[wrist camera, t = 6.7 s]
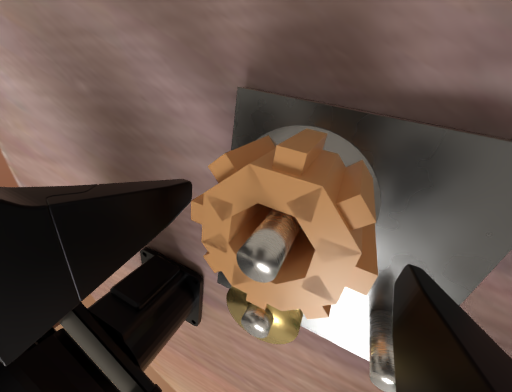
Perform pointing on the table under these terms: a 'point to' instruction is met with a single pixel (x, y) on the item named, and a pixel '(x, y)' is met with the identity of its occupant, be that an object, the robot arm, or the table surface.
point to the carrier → (381, 217)
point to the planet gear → (304, 210)
